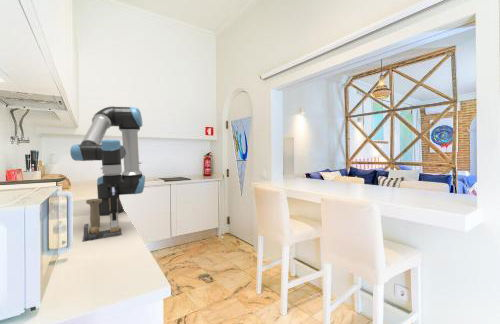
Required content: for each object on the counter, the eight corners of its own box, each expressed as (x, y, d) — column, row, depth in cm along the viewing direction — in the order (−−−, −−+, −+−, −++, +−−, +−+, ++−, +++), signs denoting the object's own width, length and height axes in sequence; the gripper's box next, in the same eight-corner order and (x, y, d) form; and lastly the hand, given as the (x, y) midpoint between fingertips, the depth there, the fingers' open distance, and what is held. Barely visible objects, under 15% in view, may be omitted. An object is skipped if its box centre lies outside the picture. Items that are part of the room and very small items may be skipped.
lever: (110, 231, 112) (108, 197, 111) (119, 230, 114) (117, 197, 113) (110, 233, 109) (108, 199, 108) (119, 232, 111) (118, 198, 110)
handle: (102, 231, 118) (101, 200, 117) (86, 233, 115) (85, 201, 114) (104, 228, 122) (102, 198, 121) (88, 230, 120) (87, 199, 119)
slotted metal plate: (84, 237, 110) (83, 222, 110) (120, 231, 117) (120, 217, 117) (82, 245, 101) (81, 229, 100) (122, 238, 108) (121, 223, 108)
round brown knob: (91, 234, 109) (91, 225, 109) (101, 233, 110) (101, 225, 109) (87, 237, 105) (86, 228, 105) (97, 237, 106) (97, 227, 105)
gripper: (102, 173, 115) (104, 222, 116) (102, 176, 101) (104, 232, 102) (120, 172, 119) (122, 220, 120) (122, 175, 105) (125, 229, 106)
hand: (114, 225), depth 111 cm, fingers closed on lever, 3 cm apart
